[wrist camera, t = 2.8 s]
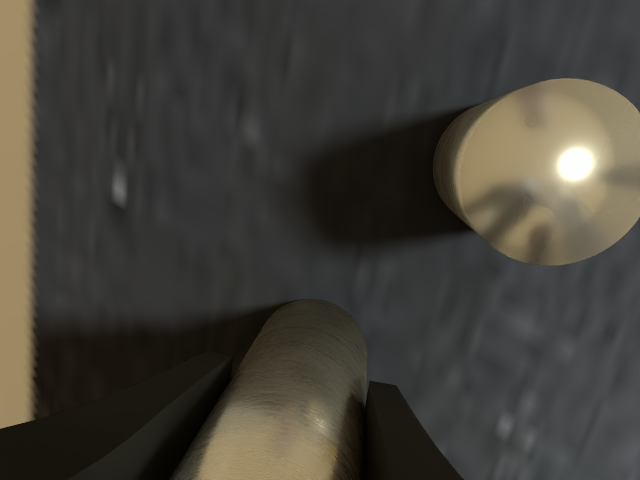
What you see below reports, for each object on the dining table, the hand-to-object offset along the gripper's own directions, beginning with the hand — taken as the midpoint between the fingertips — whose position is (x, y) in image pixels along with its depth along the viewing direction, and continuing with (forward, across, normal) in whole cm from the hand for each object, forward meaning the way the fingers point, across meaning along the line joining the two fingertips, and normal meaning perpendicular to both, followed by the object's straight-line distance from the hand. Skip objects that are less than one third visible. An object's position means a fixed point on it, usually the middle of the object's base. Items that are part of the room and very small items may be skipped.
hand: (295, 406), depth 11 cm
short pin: (+3, -4, -6) cm, 8 cm away
